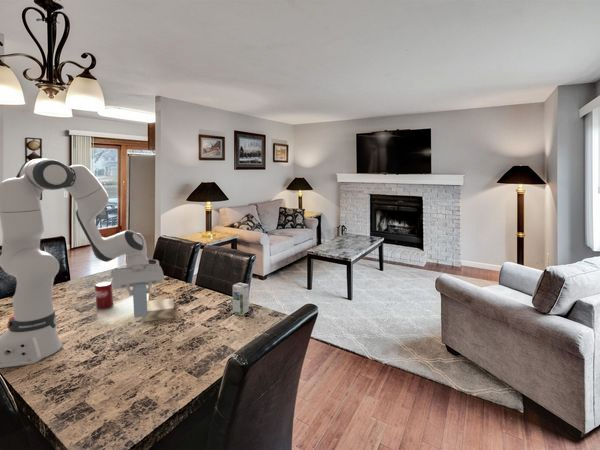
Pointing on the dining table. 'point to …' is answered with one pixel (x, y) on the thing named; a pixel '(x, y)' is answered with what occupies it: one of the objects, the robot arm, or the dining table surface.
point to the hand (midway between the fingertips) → (139, 293)
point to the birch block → (159, 310)
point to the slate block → (140, 300)
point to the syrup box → (240, 298)
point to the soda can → (103, 295)
